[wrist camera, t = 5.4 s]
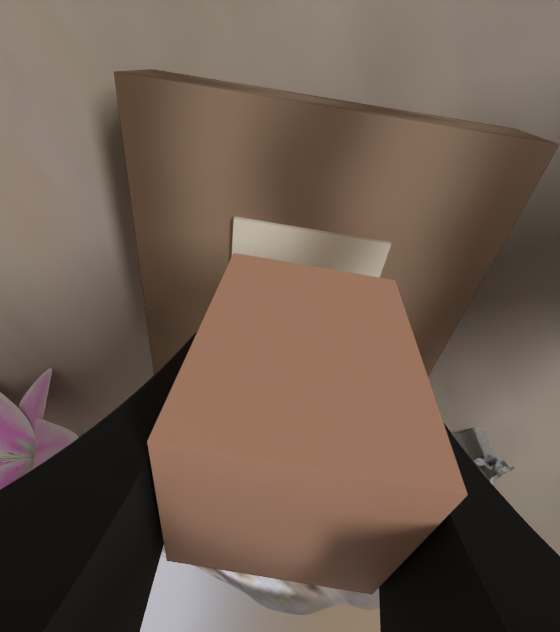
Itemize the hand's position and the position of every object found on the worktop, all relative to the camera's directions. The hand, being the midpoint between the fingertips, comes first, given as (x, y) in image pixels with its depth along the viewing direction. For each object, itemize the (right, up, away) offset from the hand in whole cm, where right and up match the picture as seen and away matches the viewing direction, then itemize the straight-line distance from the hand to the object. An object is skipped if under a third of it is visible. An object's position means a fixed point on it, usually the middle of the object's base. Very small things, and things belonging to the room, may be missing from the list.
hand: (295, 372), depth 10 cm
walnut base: (+1, +4, +7) cm, 8 cm away
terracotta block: (0, +1, +1) cm, 2 cm away
